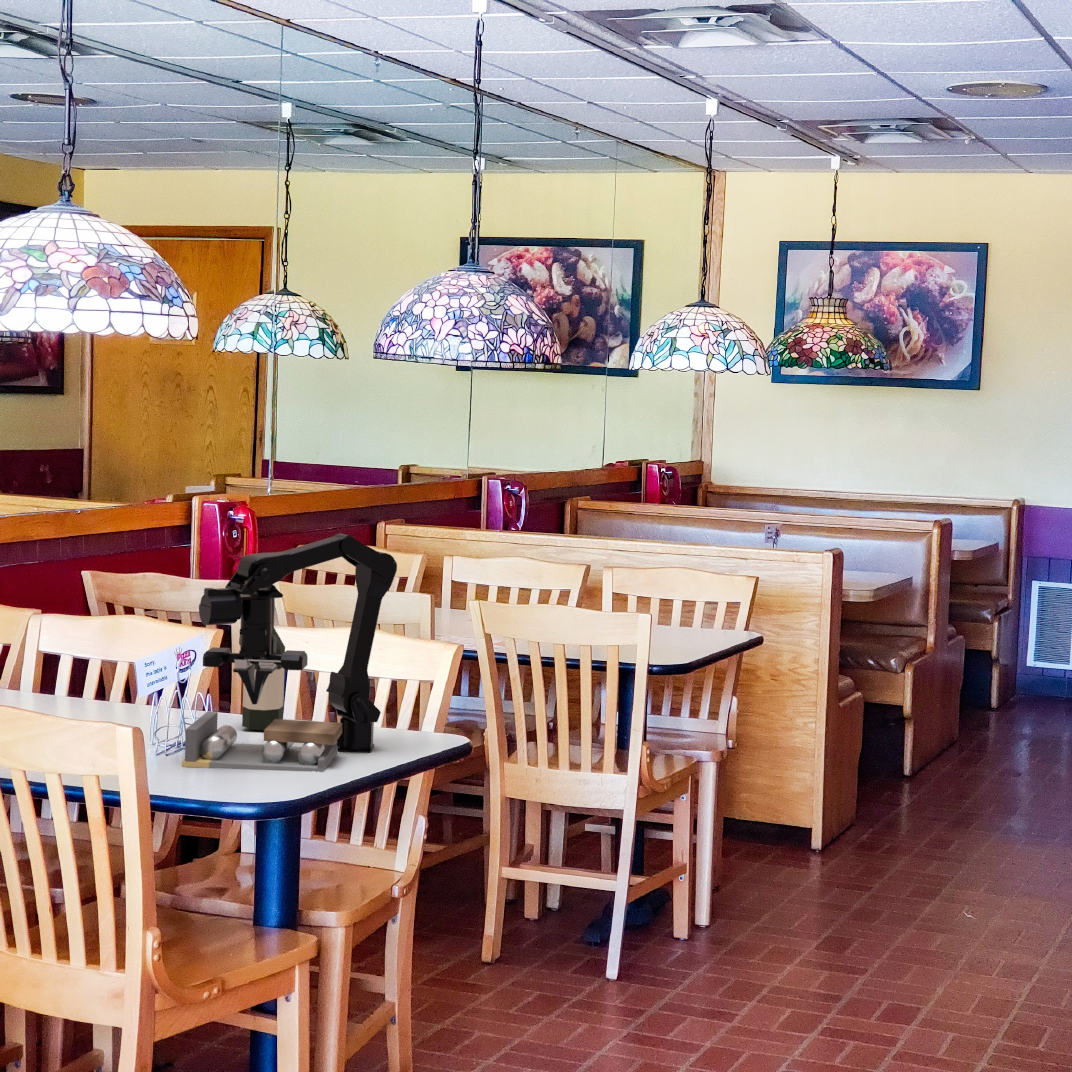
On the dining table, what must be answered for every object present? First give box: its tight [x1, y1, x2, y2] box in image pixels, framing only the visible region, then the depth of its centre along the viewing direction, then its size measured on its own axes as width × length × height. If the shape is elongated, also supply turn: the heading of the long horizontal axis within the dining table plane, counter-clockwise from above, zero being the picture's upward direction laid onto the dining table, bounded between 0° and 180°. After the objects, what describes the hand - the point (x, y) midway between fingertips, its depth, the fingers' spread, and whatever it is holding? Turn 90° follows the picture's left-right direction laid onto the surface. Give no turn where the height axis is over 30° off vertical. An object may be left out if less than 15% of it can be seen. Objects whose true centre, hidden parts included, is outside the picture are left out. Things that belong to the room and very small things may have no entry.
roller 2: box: [261, 741, 295, 763], centre depth 278 cm, size 12×4×4 cm
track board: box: [181, 711, 338, 773], centre depth 278 cm, size 26×16×7 cm, turn 88°
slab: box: [263, 718, 342, 745], centre depth 277 cm, size 13×10×2 cm
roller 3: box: [298, 743, 329, 765], centre depth 278 cm, size 12×4×4 cm
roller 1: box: [201, 724, 238, 760], centre depth 278 cm, size 12×4×4 cm
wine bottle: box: [241, 584, 286, 731], centre depth 306 cm, size 8×8×30 cm
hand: (254, 703), depth 278 cm, fingers closed
